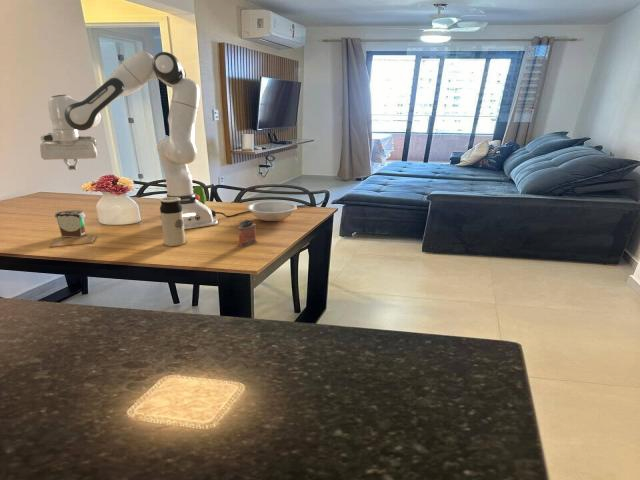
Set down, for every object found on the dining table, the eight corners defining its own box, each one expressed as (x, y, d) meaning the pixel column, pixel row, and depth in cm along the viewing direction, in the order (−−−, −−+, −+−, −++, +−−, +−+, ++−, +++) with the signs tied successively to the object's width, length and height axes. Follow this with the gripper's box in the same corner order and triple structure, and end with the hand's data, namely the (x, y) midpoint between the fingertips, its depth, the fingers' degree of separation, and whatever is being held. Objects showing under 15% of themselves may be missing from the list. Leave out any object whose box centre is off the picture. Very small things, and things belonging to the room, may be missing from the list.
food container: (95, 233, 160) (92, 210, 157) (84, 237, 154) (80, 213, 151) (70, 232, 162) (66, 209, 160) (58, 236, 156) (54, 212, 154)
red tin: (252, 240, 157) (251, 216, 154) (257, 242, 155) (257, 218, 152) (236, 245, 151) (235, 220, 148) (242, 247, 149) (241, 222, 146)
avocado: (206, 208, 204) (205, 186, 200) (191, 209, 202) (189, 187, 198) (206, 205, 212) (204, 184, 208) (191, 206, 209) (189, 184, 206)
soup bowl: (282, 211, 203) (282, 199, 200) (305, 222, 184) (305, 209, 181) (240, 217, 190) (239, 204, 188) (260, 229, 171) (259, 215, 169)
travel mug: (160, 243, 151) (155, 198, 146) (179, 238, 157) (174, 195, 151) (170, 247, 146) (165, 202, 141) (189, 243, 152) (185, 199, 146)
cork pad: (95, 236, 157) (95, 235, 157) (92, 243, 150) (92, 242, 149) (55, 240, 152) (55, 239, 152) (50, 247, 144) (50, 246, 144)
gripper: (95, 135, 165) (101, 167, 170) (39, 136, 158) (47, 169, 162) (94, 136, 160) (99, 169, 164) (35, 137, 152) (43, 171, 157)
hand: (73, 169), depth 163 cm, fingers closed
